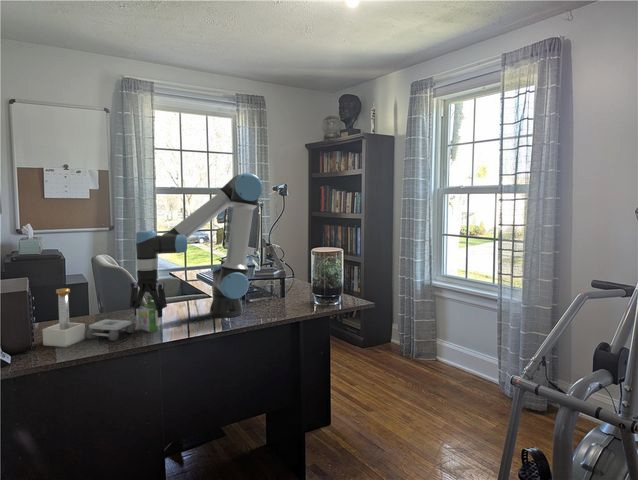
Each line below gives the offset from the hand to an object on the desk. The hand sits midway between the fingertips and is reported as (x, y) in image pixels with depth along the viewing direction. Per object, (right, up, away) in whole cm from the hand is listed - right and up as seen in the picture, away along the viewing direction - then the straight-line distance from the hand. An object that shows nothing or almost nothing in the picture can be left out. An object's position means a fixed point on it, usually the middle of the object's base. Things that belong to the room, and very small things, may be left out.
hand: (148, 324), depth 178 cm
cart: (-12, -3, -7) cm, 14 cm away
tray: (-25, -4, -15) cm, 30 cm away
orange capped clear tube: (-25, -3, -15) cm, 30 cm away
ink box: (0, -2, 0) cm, 3 cm away
